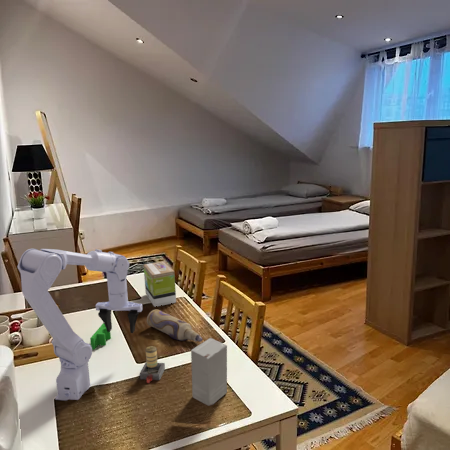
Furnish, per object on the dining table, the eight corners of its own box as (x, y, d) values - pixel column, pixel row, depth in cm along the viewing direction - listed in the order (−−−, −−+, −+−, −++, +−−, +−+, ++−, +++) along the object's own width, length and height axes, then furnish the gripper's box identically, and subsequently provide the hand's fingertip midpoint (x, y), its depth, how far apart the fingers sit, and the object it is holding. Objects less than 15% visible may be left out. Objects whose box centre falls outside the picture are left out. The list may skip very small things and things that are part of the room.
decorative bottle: (145, 329, 157) (144, 312, 156) (161, 322, 163) (160, 306, 161) (192, 352, 140) (192, 334, 139) (208, 344, 146) (208, 326, 144)
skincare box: (210, 385, 123) (209, 335, 119) (229, 394, 118) (228, 343, 114) (190, 399, 116) (188, 348, 112) (210, 410, 112) (208, 357, 108)
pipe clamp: (101, 350, 143) (100, 338, 142) (91, 350, 143) (90, 338, 142) (114, 334, 154) (113, 323, 153) (104, 334, 154) (103, 322, 153)
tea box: (144, 294, 189) (142, 263, 185) (166, 290, 193) (164, 260, 189) (154, 307, 175) (151, 274, 172) (176, 303, 179) (175, 270, 176)
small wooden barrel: (155, 367, 125) (154, 352, 124) (145, 367, 125) (144, 351, 124) (158, 361, 128) (157, 346, 127) (148, 361, 129) (147, 345, 127)
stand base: (164, 386, 122) (164, 378, 122) (131, 384, 123) (130, 376, 123) (172, 367, 132) (172, 359, 131) (142, 365, 133) (141, 358, 132)
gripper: (144, 287, 134) (146, 326, 137) (100, 285, 135) (104, 324, 139) (137, 295, 127) (140, 336, 130) (91, 294, 129) (95, 334, 132)
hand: (121, 331), depth 134 cm, fingers open, 7 cm apart
